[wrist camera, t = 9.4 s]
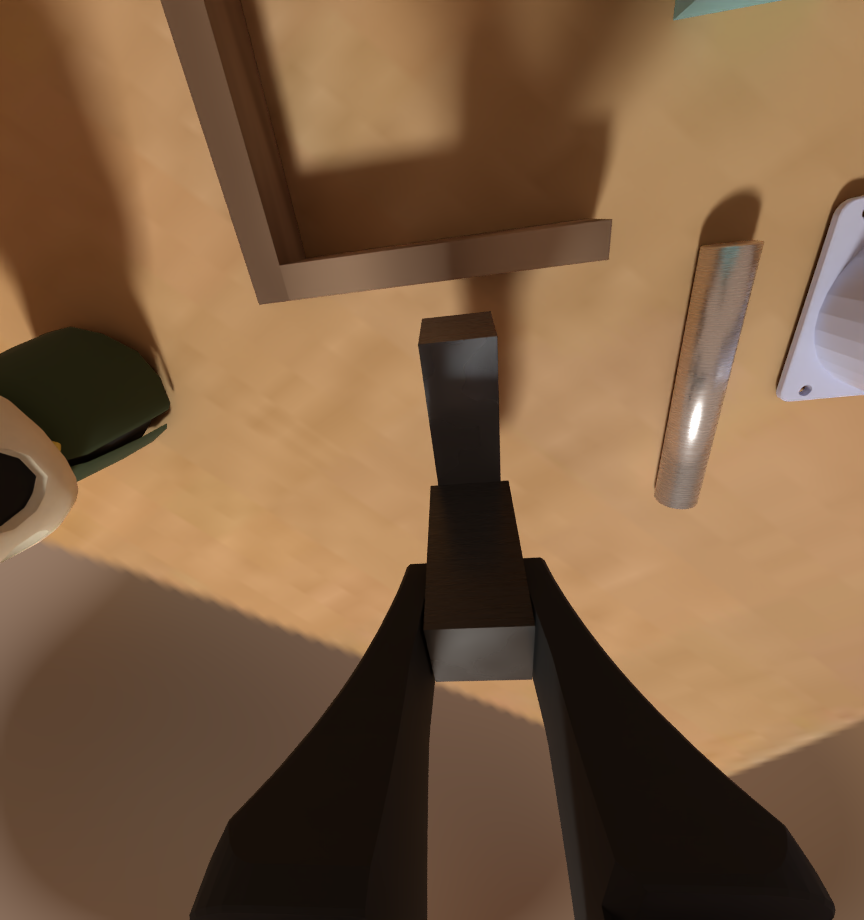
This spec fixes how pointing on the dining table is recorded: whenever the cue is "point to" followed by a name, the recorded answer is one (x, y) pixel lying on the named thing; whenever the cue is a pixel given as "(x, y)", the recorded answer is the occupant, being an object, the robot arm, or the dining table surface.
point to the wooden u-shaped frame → (268, 200)
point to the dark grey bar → (471, 513)
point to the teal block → (710, 6)
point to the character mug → (66, 424)
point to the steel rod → (705, 366)
